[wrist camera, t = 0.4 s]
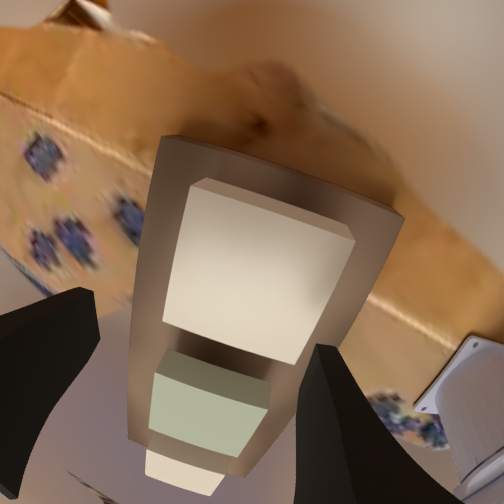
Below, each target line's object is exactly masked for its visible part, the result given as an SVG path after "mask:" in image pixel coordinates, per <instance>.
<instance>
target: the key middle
mask: <svg viewBox="0 0 504 504" xmlns="http://www.w3.org/2000/svg"><path fill="white" fill-rule="evenodd" d="M270 392H271V383H270V382H267V381H263V380H260V379H256V378H253V377H250V376H246V375H243V374H240V373H236V372H233V371H230V370H227V369H224V368H221V367H218V366H215V365H212V364H209V363H206V362H203V361H201V360H198V359H195V358H192V357H189V356H187V355H184V354H181V353H179V352H176V351H173V350H171V349H167V351H166V353H165V354H164V356H163V358H162V360H161V362H160V363H159V365H158V367H157V369H156V371H155V374H154V382H153V390H152V399H151V408H150V417H149V428H150V429H152V430H155V431H157V432H160V433H162V434H165V435H167V436H170V437H173V438H176V439H178V440H181V441H184V442H187V443H190V444H193V445H196V446H199V447H202V448H205V449H209V450H212V451H215V452H219V453H222V454H226V455H230V456H233V457H238V456H239V455H240V453H241V452H242V450H243V449H244V447H245V446H246V444H247V443H248V441H249V439H250V438H251V436H252V435H253V433H254V432H255V430H256V429H257V427H258V425H259V424H260V422H261V421H262V419H263V417H264V416H265V414H266V413H267V411H268V408H269V400H270Z"/></svg>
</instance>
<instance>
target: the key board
mask: <svg viewBox="0 0 504 504" xmlns="http://www.w3.org/2000/svg"><path fill="white" fill-rule="evenodd" d="M206 177H207V178H210V179H213V180H217V181H220V182H223V183H226V184H230V185H233V186H236V187H239V188H242V189H245V190H248V191H251V192H255V193H258V194H261V195H264V196H267V197H270V198H273V199H276V200H279V201H281V202H284V203H287V204H290V205H293V206H296V207H299V208H302V209H304V210H307V211H310V212H313V213H316V214H318V215H321V216H324V217H327V218H329V219H332V220H335V221H338V222H340V223H343V224H346V225H347V226H348V228H349V230H350V232H351V234H352V235H353V237H354V239H355V241H356V242H355V245H354V247H353V249H352V251H351V254H350V256H349V258H348V260H347V262H346V265H345V267H344V269H343V271H342V273H341V275H340V278H339V280H338V282H337V284H336V286H335V288H334V290H333V292H332V294H331V296H330V298H329V300H328V302H327V304H326V306H325V308H324V310H323V312H322V314H321V316H320V318H319V320H318V322H317V324H316V326H315V328H314V330H313V332H312V334H311V336H310V337H309V339H308V341H307V343H306V345H305V347H304V349H303V350H302V352H301V354H300V356H299V358H298V360H297V361H296V363H295V365H293V364H289V363H286V362H282V361H279V360H275V359H272V358H268V357H265V356H262V355H258V354H255V353H252V352H249V351H245V350H242V349H239V348H236V347H233V346H230V345H227V344H224V343H221V342H218V341H215V340H212V339H209V338H207V337H204V336H201V335H198V334H195V333H193V332H190V331H187V330H184V329H182V328H179V327H176V326H174V325H171V324H169V323H166V322H163V321H162V320H163V314H164V308H165V302H166V297H167V291H168V286H169V280H170V275H171V270H172V265H173V260H174V255H175V250H176V246H177V241H178V236H179V232H180V227H181V223H182V219H183V214H184V210H185V206H186V202H187V197H188V193H189V189H190V186H191V185H193V184H194V183H196V182H198V181H200V180H202V179H204V178H206ZM404 220H405V218H404V217H403V216H402V215H400V214H399V213H398V212H397V211H396V210H394V209H393V208H391V207H389V206H386V205H384V204H382V203H379V202H377V201H375V200H372V199H370V198H367V197H365V196H362V195H360V194H358V193H355V192H353V191H350V190H347V189H345V188H342V187H340V186H337V185H334V184H332V183H329V182H327V181H324V180H321V179H318V178H316V177H313V176H310V175H307V174H305V173H302V172H299V171H296V170H293V169H290V168H287V167H284V166H281V165H278V164H275V163H272V162H269V161H266V160H263V159H260V158H257V157H253V156H250V155H247V154H244V153H240V152H237V151H234V150H230V149H227V148H223V147H220V146H216V145H213V144H209V143H205V142H202V141H198V140H194V139H190V138H187V137H183V136H179V135H167V136H161V140H160V144H159V148H158V152H157V156H156V161H155V165H154V170H153V174H152V179H151V184H150V189H149V194H148V199H147V204H146V210H145V215H144V221H143V227H142V233H141V239H140V246H139V253H138V260H137V268H136V276H135V284H134V293H133V303H132V314H131V326H130V340H129V359H128V394H127V395H128V396H127V397H128V398H127V403H128V404H127V411H128V412H127V413H128V414H127V416H128V439H130V440H132V441H134V442H137V443H139V444H142V445H144V446H146V447H148V445H149V443H150V441H151V438H152V436H153V434H154V432H155V430H152V429H150V428H149V417H150V408H151V399H152V390H153V382H154V374H155V371H156V369H157V367H158V365H159V363H160V362H161V360H162V358H163V356H164V354H165V353H166V351H167V349H171V350H173V351H176V352H179V353H181V354H184V355H187V356H189V357H192V358H195V359H198V360H201V361H203V362H206V363H209V364H212V365H215V366H218V367H221V368H224V369H227V370H230V371H233V372H236V373H240V374H243V375H246V376H250V377H253V378H256V379H260V380H263V381H267V382H270V383H271V392H270V400H269V408H268V411H267V413H266V414H265V416H264V417H263V419H262V421H261V422H260V424H259V425H258V427H257V429H256V430H255V432H254V433H253V435H252V436H251V438H250V439H249V441H248V443H247V444H246V446H245V447H244V449H243V450H242V452H241V453H240V455H239V456H238V457H233V456H229V461H228V465H227V469H226V473H228V474H232V475H236V476H240V477H244V478H245V477H246V476H247V475H248V473H249V472H250V471H251V470H252V469H253V467H254V466H255V465H256V464H257V463H258V461H259V460H260V459H261V458H262V457H263V455H264V454H265V453H266V452H267V450H268V449H269V448H270V447H271V445H272V444H273V443H274V441H275V440H276V439H277V438H278V436H279V435H280V434H281V432H282V431H283V430H284V428H285V427H286V426H287V424H288V423H289V421H290V420H291V418H292V417H293V416H294V415H295V413H296V411H297V402H298V393H299V387H300V385H301V382H302V380H303V377H304V374H305V372H306V369H307V366H308V364H309V361H310V358H311V356H312V353H313V350H314V347H315V344H316V343H318V344H324V345H331V346H336V348H337V349H338V348H339V346H340V345H341V343H342V341H343V340H344V338H345V336H346V335H347V333H348V331H349V329H350V328H351V326H352V324H353V322H354V321H355V319H356V317H357V315H358V314H359V312H360V310H361V308H362V306H363V304H364V303H365V301H366V299H367V297H368V295H369V293H370V291H371V289H372V287H373V286H374V284H375V282H376V280H377V278H378V276H379V274H380V272H381V270H382V268H383V266H384V264H385V262H386V259H387V257H388V255H389V253H390V251H391V249H392V247H393V245H394V242H395V240H396V238H397V236H398V234H399V231H400V229H401V227H402V225H403V222H404Z"/></svg>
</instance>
